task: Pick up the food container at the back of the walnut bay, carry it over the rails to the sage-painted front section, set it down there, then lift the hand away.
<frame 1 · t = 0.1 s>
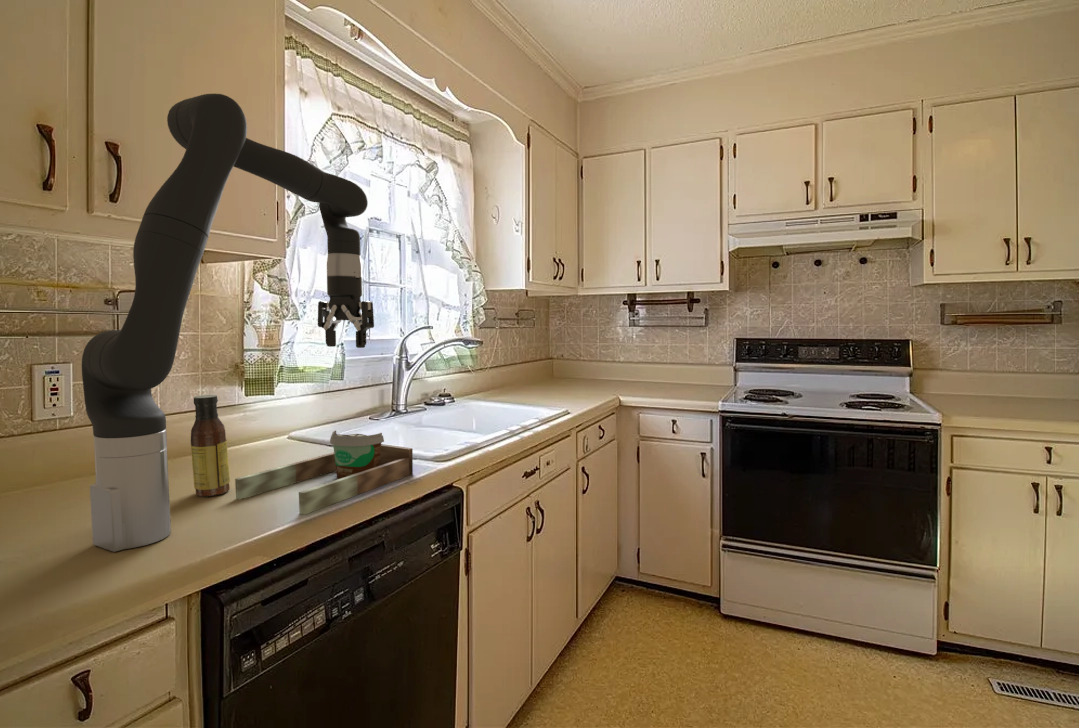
hand: (345, 347, 126), 29 cm above the counter, tool pointing down, fingers open, 8 cm apart
crate bay: (331, 485, 117), on the counter
sauce bottle: (211, 494, 111), on the counter
food container: (352, 479, 122), on the counter
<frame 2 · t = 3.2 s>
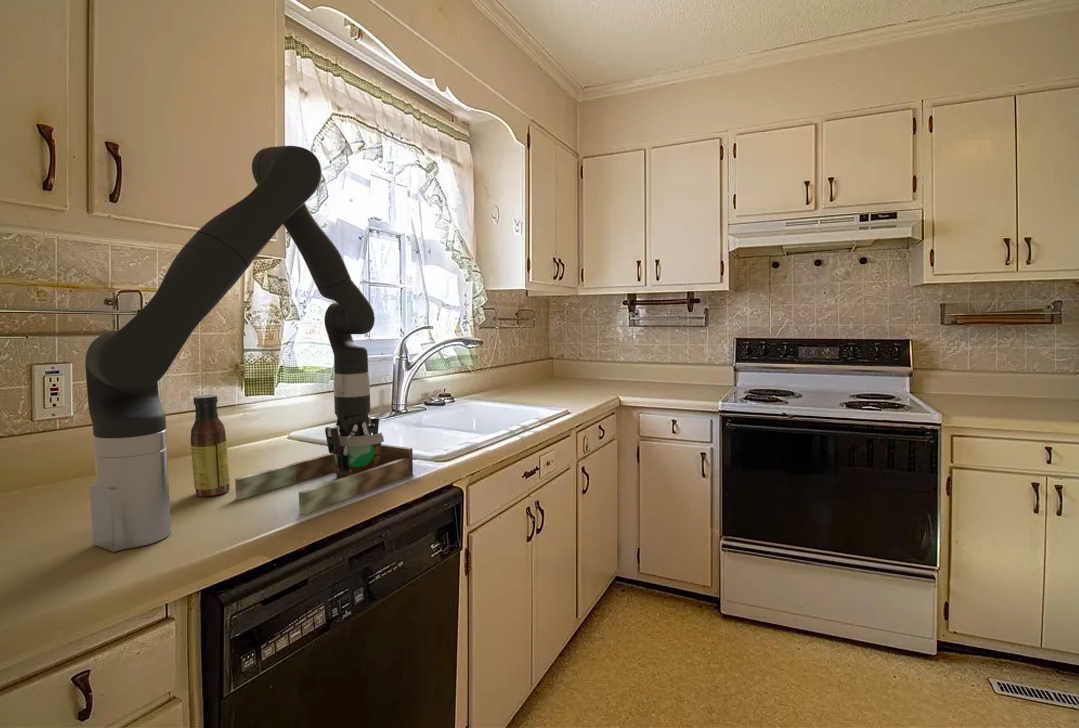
hand: (354, 467, 123), 2 cm above the counter, tool pointing down, fingers closed on food container, 5 cm apart
food container: (352, 479, 122), on the counter, touching gripper
everything else where it was.
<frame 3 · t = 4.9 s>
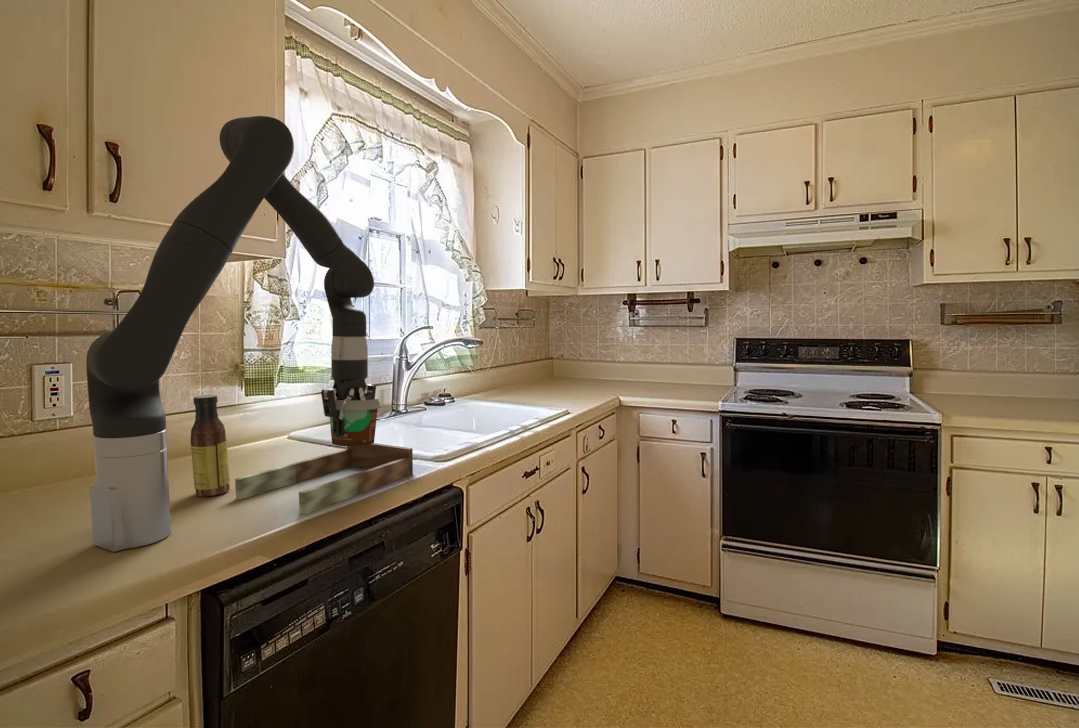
hand: (350, 433, 121), 10 cm above the counter, tool pointing down, fingers closed on food container, 5 cm apart
food container: (347, 445, 121), point 8 cm above the counter, touching gripper
everything else where it was.
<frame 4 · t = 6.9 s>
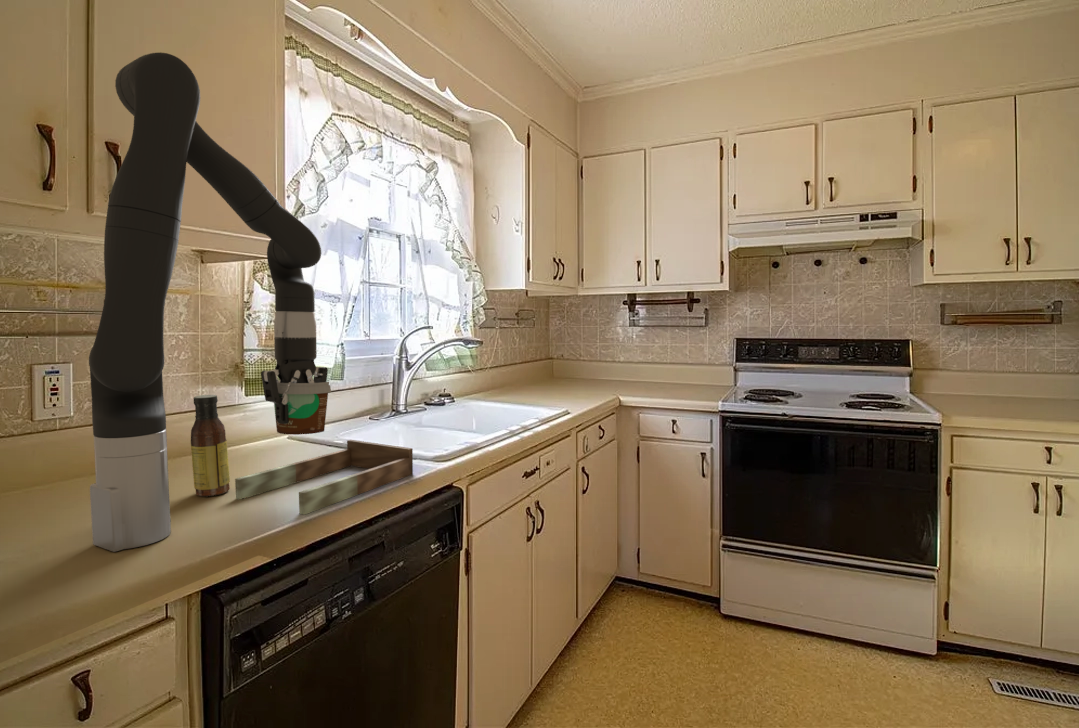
hand: (296, 420, 109), 15 cm above the counter, tool pointing down, fingers closed on food container, 5 cm apart
food container: (293, 433, 108), point 13 cm above the counter, touching gripper
everything else where it was.
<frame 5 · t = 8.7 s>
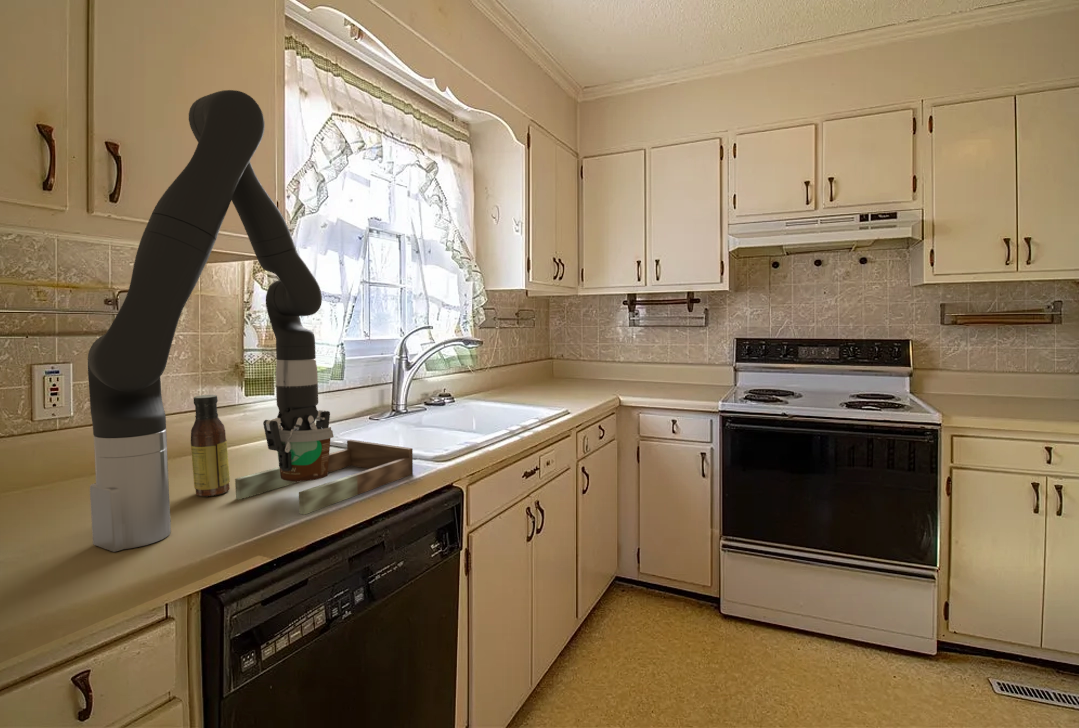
hand: (300, 466, 109), 6 cm above the counter, tool pointing down, fingers closed on food container, 5 cm apart
food container: (297, 479, 109), point 4 cm above the counter, touching gripper
everything else where it was.
when the fingers open (3 cm above the counter, at t = 10.2 s): food container moves 1 cm, on the counter.
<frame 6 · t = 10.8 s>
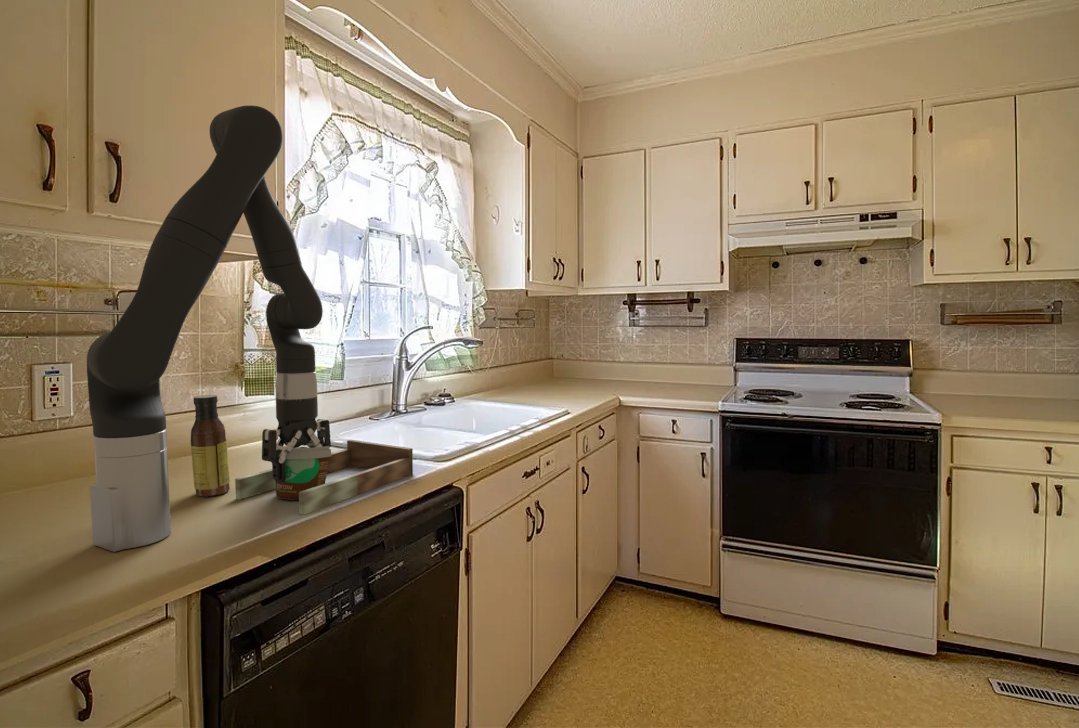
hand: (298, 476, 109), 4 cm above the counter, tool pointing down, fingers open, 8 cm apart
food container: (293, 498, 108), on the counter, touching gripper
everything else where it was.
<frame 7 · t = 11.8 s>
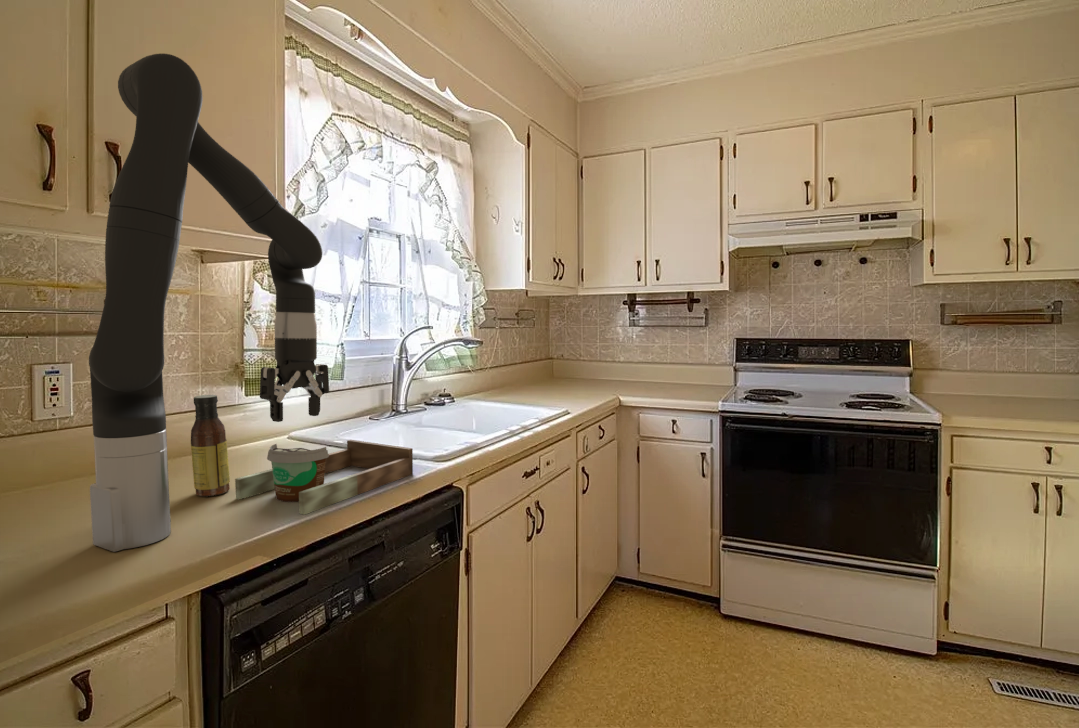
hand: (296, 418, 109), 16 cm above the counter, tool pointing down, fingers open, 8 cm apart
food container: (292, 499, 108), on the counter
everything else where it was.
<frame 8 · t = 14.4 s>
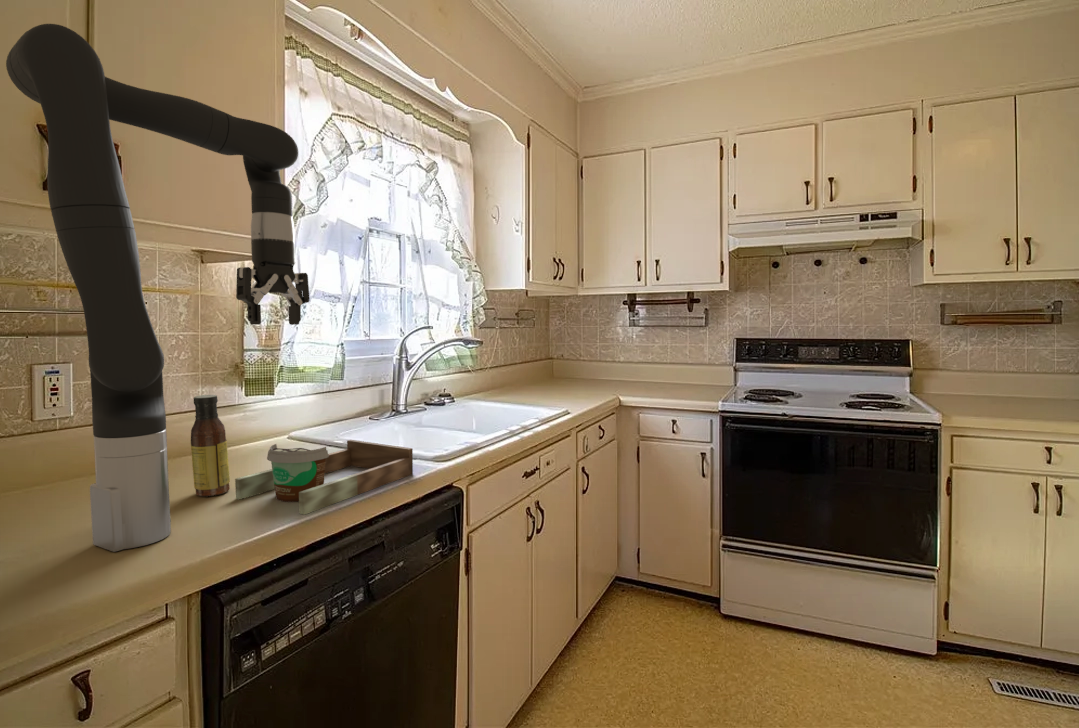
hand: (275, 324, 107), 34 cm above the counter, tool pointing down, fingers open, 8 cm apart
nothing on the counter moved.
at the end: food container inside the target area (1.6 cm from its centre), on the counter; food container tilted 0°; the gripper is holding nothing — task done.
